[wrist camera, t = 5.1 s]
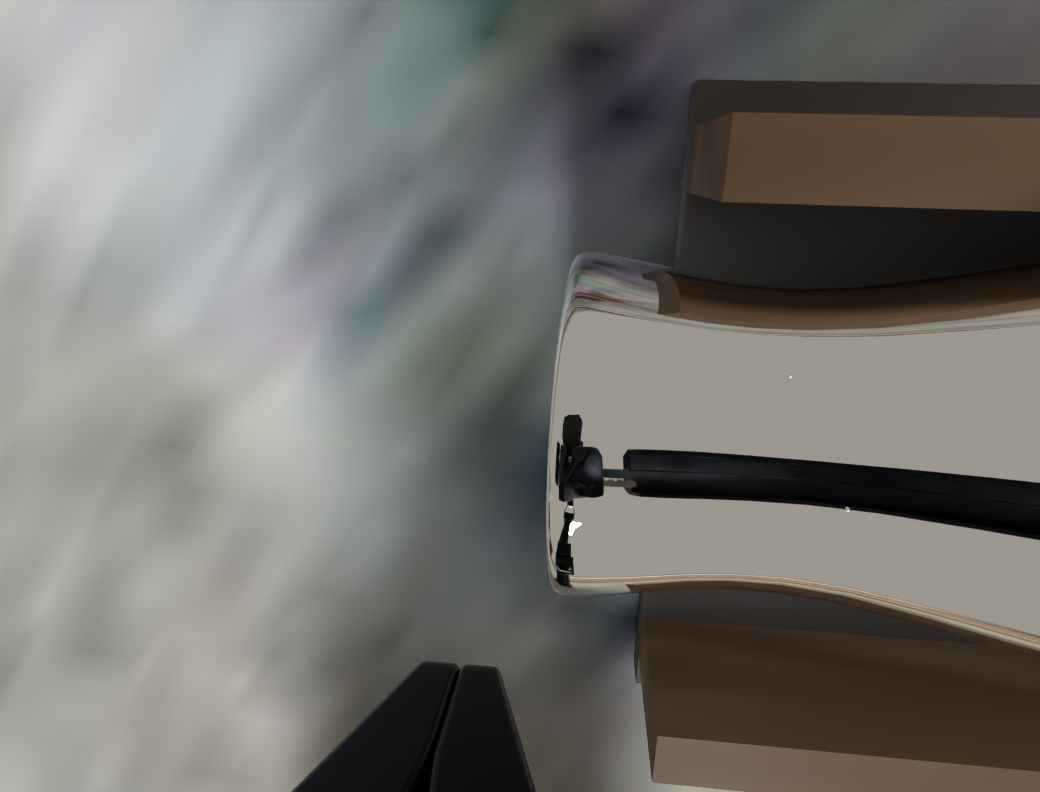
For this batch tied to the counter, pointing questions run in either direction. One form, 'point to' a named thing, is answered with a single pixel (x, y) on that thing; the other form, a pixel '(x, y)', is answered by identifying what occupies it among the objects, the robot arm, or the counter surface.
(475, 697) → the robot arm
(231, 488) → the counter surface
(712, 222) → the wooden tray
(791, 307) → the beer glass
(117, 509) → the counter surface
